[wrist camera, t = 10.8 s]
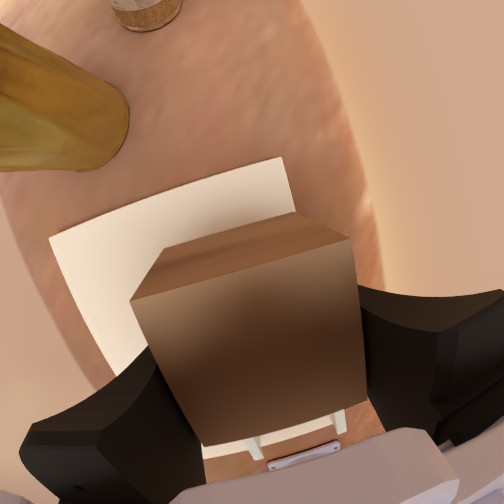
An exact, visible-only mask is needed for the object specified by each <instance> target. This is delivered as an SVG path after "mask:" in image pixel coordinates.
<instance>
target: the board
mask: <svg viewBox="0 0 504 504" xmlns="http://www.w3.org/2000/svg"><path fill="white" fill-rule="evenodd" d="M290 212H296V210H295V206H294V202H293V198H292V195H291V191H290V187H289V183H288V179H287V176H286V172H285V168H284V165H283V161H282V157H276V158H272V159H268V160H264V161H261V162H257V163H253V164H250V165H246V166H243V167H239V168H236V169H232V170H229V171H226V172H222V173H219V174H216V175H213V176H209V177H206V178H203V179H200V180H197V181H194V182H191V183H188V184H185V185H182V186H179V187H176V188H173V189H170V190H167V191H164V192H161V193H158V194H155V195H153V196H150V197H147V198H144V199H142V200H139V201H136V202H133V203H131V204H128V205H125V206H123V207H120V208H118V209H115V210H113V211H110V212H107V213H105V214H102V215H100V216H97V217H95V218H93V219H90V220H88V221H85V222H83V223H81V224H78V225H76V226H73V227H71V228H69V229H67V230H64V231H62V232H60V233H58V234H56V235H54V236H52V237H50V238H49V241H50V244H51V246H52V249H53V251H54V254H55V257H56V259H57V261H58V264H59V266H60V269H61V271H62V273H63V276H64V278H65V280H66V283H67V285H68V287H69V289H70V291H71V294H72V296H73V298H74V300H75V302H76V304H77V306H78V308H79V310H80V312H81V314H82V316H83V318H84V320H85V322H86V324H87V326H88V328H89V330H90V332H91V333H92V335H93V337H94V339H95V341H96V343H97V344H98V346H99V348H100V350H101V351H102V353H103V355H104V357H105V358H106V360H107V362H108V363H109V365H110V367H111V368H112V370H113V372H114V373H115V375H116V376H118V375H119V374H120V373H121V372H122V371H123V370H125V369H126V368H127V367H128V366H129V365H130V364H131V363H132V361H133V360H134V359H135V358H136V357H137V356H138V355H139V354H140V353H141V352H142V351H143V350H144V349H145V348H146V347H147V345H148V344H147V341H146V339H145V337H144V335H143V333H142V330H141V328H140V326H139V324H138V321H137V319H136V317H135V314H134V312H133V310H132V307H131V305H130V303H129V301H130V299H131V298H132V296H133V294H134V293H135V291H136V290H137V288H138V287H139V285H140V283H141V282H142V280H143V279H144V277H145V276H146V274H147V273H148V271H149V270H150V268H151V267H152V265H153V264H154V262H155V261H156V259H157V258H158V256H159V255H160V253H161V252H162V250H163V249H164V248H167V247H170V246H173V245H177V244H180V243H184V242H187V241H190V240H194V239H197V238H201V237H204V236H208V235H211V234H215V233H218V232H222V231H225V230H229V229H232V228H236V227H239V226H243V225H246V224H250V223H254V222H257V221H261V220H264V219H268V218H272V217H275V216H279V215H283V214H287V213H290ZM331 424H333V423H332V421H331V419H330V417H329V415H327V416H324V417H321V418H318V419H315V420H312V421H309V422H306V423H303V424H300V425H296V426H293V427H290V428H286V429H283V430H279V431H276V432H272V433H268V434H264V435H260V436H259V438H260V442H261V447H262V446H266V445H269V444H273V443H277V442H280V441H283V440H287V439H290V438H293V437H296V436H300V435H303V434H306V433H309V432H312V431H315V430H317V429H320V428H323V427H326V426H328V425H331ZM201 446H202V455H203V459H207V458H213V457H218V456H223V455H228V454H233V453H237V452H242V451H246V450H248V448H247V447H246V445H245V443H244V441H243V440H239V441H235V442H230V443H225V444H220V445H215V446H209V447H204V446H203V445H202V443H201Z"/></svg>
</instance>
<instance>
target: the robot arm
mask: <svg viewBox="0 0 504 504" xmlns="http://www.w3.org/2000/svg"><path fill="white" fill-rule="evenodd" d="M357 286H358V293H359V302H360V310H361V319H362V329H363V340H364V352H365V366H366V383H367V396H368V398H369V400H370V401H371V403H372V405H373V407H374V409H375V411H376V413H377V415H378V417H379V419H380V421H381V423H382V425H383V427H384V429H385V431H386V432H385V433H382V434H379V435H375V436H372V437H369V438H367V439H365V440H362V441H360V442H357V443H355V444H352V445H350V446H347V447H345V448H342V449H341V448H340V443H339V441H333V442H331V443H328V444H325V445H322V446H320V447H317V448H314V449H311V450H308V451H305V452H302V453H298V454H295V455H292V456H288V457H285V458H282V459H278V460H274V461H271V462H269V463H268V464H267V465H268V468H269V470H270V471H266V472H262V473H258V474H253V475H248V476H243V477H238V478H233V479H227V480H221V481H215V482H211V483H208V484H206V478H205V471H204V464H203V455H202V446H201V442H200V440H199V438H198V437H197V435H196V434H195V432H194V430H193V429H192V427H191V425H190V424H189V422H188V420H187V418H186V417H185V415H184V413H183V411H182V410H181V408H180V406H179V404H178V403H177V401H176V399H175V397H174V395H173V393H172V392H171V390H170V388H169V386H168V384H167V382H166V380H165V378H164V376H163V374H162V372H161V370H160V368H159V366H158V364H157V362H156V360H155V358H154V356H153V354H152V352H151V350H150V348H149V346H148V345H147V347H146V348H145V349H144V350H143V351H142V352H141V353H140V354H139V355H138V356H137V357H136V358H135V359H134V360H133V361H132V363H131V364H130V365H129V366H128V367H127V368H126V369H125V370H123V371H122V372H121V373H120V374H119V375H118V376H117V377H115V378H114V379H113V380H112V381H111V382H109V383H108V384H107V385H106V386H104V387H103V388H101V389H100V390H98V391H97V392H96V393H94V394H93V395H91V396H90V397H88V398H87V399H85V400H83V401H82V402H80V403H78V404H76V405H75V406H73V407H71V408H69V409H67V410H65V411H63V412H61V413H59V414H56V415H54V416H51V417H49V418H46V419H44V420H41V421H39V422H36V423H33V424H32V425H31V427H30V429H29V431H28V433H27V435H26V437H25V439H24V441H23V443H22V445H21V447H20V450H19V455H20V458H21V461H22V463H23V464H24V466H25V467H26V469H27V470H28V471H29V472H30V473H31V474H32V475H33V476H34V477H35V478H36V479H37V480H38V481H39V482H40V483H42V484H43V485H44V486H45V487H46V488H47V489H49V490H50V491H51V492H52V493H53V494H54V495H56V496H57V497H58V498H59V499H60V500H59V503H58V504H504V291H503V290H501V289H498V290H494V291H488V292H484V293H478V294H473V295H464V296H455V297H419V296H409V295H400V294H394V293H389V292H384V291H380V290H375V289H371V288H368V287H364V286H360V285H357ZM0 504H33V503H32V502H30V501H29V500H28V499H26V498H24V497H22V496H19V495H17V494H13V493H10V492H6V491H3V490H1V491H0Z"/></svg>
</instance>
